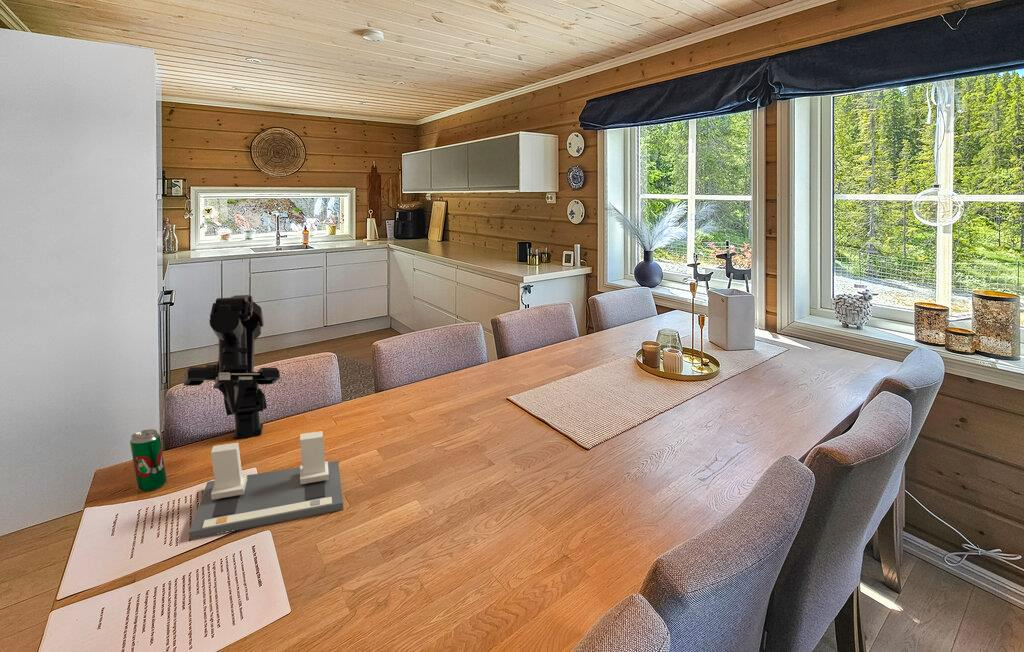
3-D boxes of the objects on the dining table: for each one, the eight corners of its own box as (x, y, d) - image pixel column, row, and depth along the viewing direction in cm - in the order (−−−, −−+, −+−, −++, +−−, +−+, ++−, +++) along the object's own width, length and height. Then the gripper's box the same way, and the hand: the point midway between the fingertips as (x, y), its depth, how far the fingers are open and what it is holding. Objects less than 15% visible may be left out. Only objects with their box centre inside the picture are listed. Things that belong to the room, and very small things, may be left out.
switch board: (208, 488, 104) (207, 480, 104) (338, 466, 114) (337, 459, 113) (190, 539, 88) (188, 530, 88) (343, 509, 98) (342, 501, 97)
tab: (300, 470, 108) (297, 431, 106) (328, 466, 110) (325, 427, 108) (300, 484, 102) (296, 443, 100) (329, 479, 104) (326, 439, 102)
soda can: (159, 477, 108) (151, 426, 105) (172, 483, 106) (164, 431, 103) (133, 488, 104) (123, 435, 101) (146, 495, 101) (137, 441, 99)
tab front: (216, 484, 102) (211, 443, 100) (247, 479, 104) (242, 439, 102) (211, 499, 97) (205, 456, 94) (243, 494, 99) (238, 451, 97)
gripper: (265, 358, 128) (267, 418, 123) (179, 357, 115) (178, 423, 111) (279, 344, 120) (282, 408, 116) (188, 341, 108) (188, 412, 103)
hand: (234, 413), depth 111 cm, fingers closed
